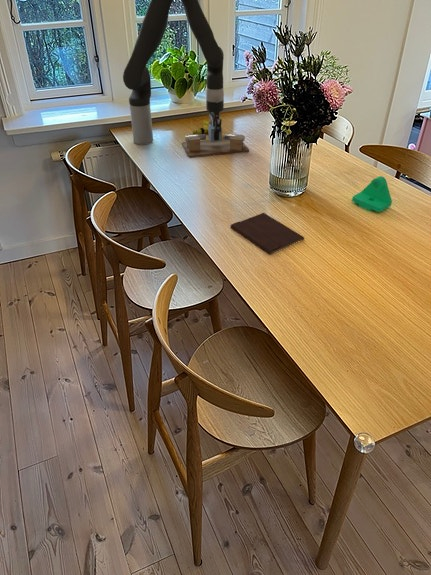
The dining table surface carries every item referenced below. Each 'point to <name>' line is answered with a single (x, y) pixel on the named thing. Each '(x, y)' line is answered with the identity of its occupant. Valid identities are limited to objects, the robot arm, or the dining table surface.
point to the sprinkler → (203, 129)
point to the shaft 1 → (202, 137)
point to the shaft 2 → (228, 136)
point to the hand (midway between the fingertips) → (215, 137)
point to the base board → (213, 147)
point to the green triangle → (374, 196)
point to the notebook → (266, 233)
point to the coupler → (211, 134)
